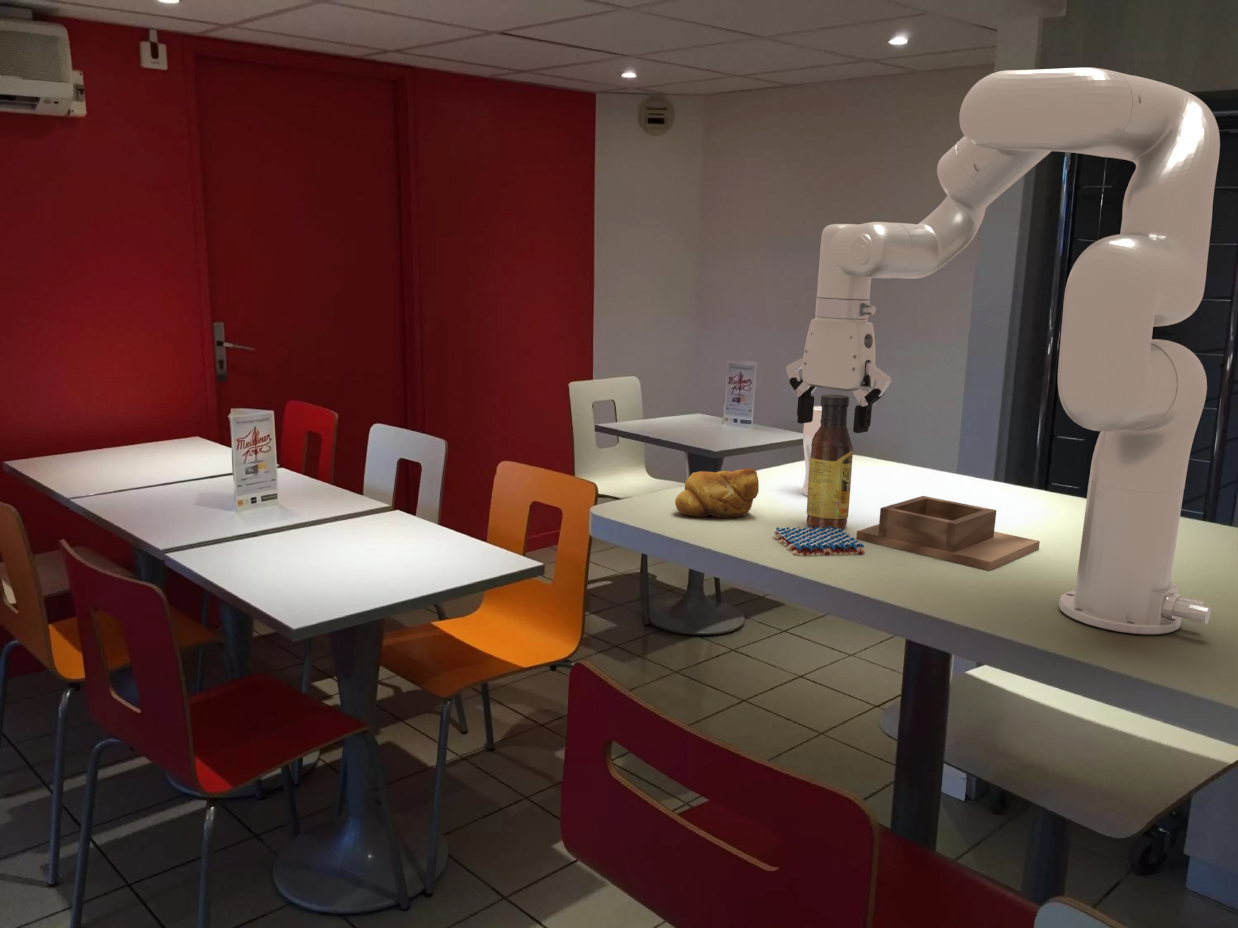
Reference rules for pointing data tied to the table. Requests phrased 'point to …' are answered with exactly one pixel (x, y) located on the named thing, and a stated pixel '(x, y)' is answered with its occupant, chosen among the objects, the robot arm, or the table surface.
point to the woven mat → (818, 541)
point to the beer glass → (810, 442)
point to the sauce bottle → (830, 466)
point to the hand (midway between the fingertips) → (832, 427)
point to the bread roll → (719, 493)
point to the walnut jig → (947, 533)
